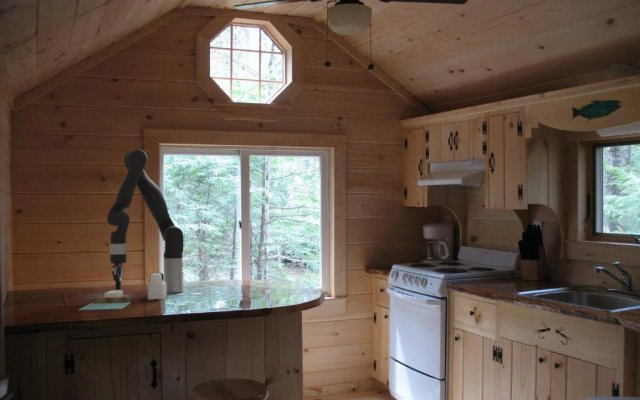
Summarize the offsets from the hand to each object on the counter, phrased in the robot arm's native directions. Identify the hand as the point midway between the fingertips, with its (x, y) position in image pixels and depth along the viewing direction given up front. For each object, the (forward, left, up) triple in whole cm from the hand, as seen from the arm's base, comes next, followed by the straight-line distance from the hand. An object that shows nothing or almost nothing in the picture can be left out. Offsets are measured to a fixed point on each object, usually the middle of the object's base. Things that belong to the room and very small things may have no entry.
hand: (118, 289), depth 299 cm
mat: (0, +24, -4) cm, 24 cm away
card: (0, +10, -2) cm, 10 cm away
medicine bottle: (-19, +3, -5) cm, 20 cm away
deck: (0, +10, -4) cm, 11 cm away
